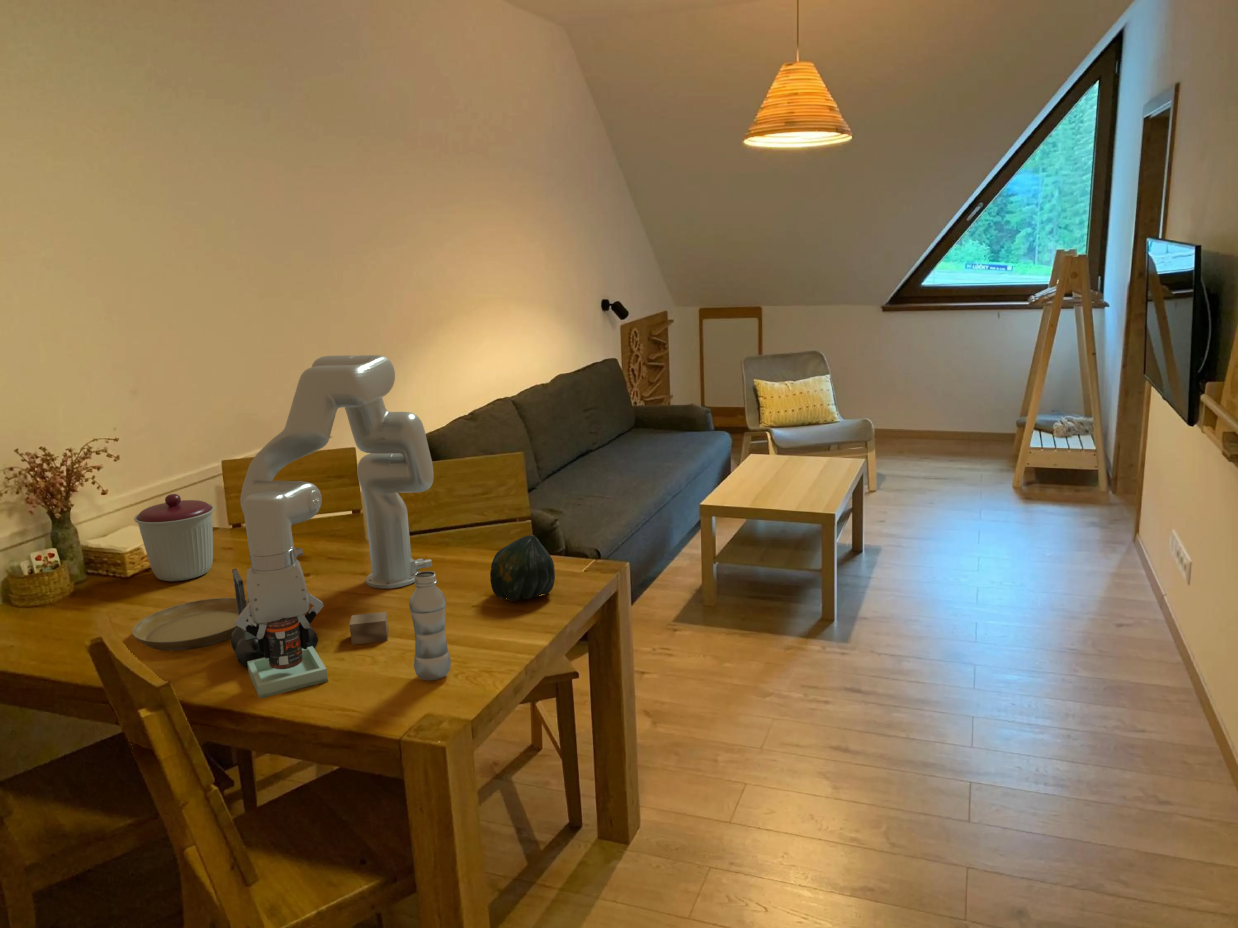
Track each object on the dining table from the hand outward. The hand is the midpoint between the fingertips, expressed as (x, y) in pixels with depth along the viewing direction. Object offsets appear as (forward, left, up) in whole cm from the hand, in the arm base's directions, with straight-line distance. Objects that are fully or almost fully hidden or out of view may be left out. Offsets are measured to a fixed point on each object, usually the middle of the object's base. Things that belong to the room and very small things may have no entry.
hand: (285, 650), depth 167 cm
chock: (-18, -9, -6) cm, 21 cm away
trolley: (0, -12, -5) cm, 13 cm away
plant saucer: (+12, -34, -6) cm, 37 cm away
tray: (0, 0, -5) cm, 5 cm away
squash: (-54, -12, -6) cm, 55 cm away
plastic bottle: (-23, +16, -6) cm, 28 cm away
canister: (+11, -76, -6) cm, 77 cm away
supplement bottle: (0, 0, -3) cm, 3 cm away
